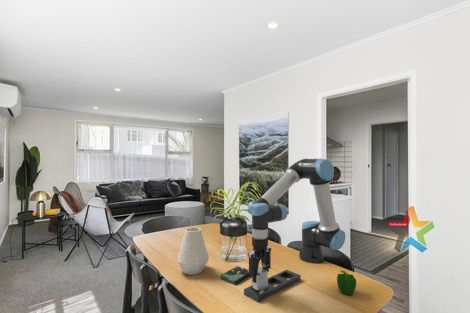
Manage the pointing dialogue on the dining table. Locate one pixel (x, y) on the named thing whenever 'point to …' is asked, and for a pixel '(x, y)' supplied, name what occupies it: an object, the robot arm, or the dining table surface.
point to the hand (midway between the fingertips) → (259, 286)
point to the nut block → (262, 279)
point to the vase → (192, 252)
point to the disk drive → (235, 275)
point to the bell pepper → (346, 283)
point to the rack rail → (272, 289)
